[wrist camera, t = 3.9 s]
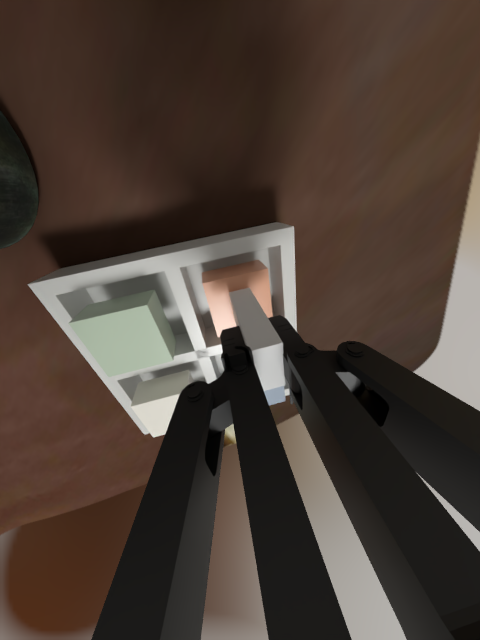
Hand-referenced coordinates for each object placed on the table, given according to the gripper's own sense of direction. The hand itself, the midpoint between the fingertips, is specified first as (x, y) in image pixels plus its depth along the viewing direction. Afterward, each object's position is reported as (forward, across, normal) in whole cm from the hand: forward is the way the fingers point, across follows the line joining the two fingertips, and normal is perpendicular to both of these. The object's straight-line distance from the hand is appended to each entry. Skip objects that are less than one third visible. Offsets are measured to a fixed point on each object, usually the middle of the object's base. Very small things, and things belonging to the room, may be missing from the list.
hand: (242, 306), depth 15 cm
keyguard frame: (+4, -4, -4) cm, 7 cm away
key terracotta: (+3, 0, 0) cm, 3 cm away
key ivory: (+2, -8, -8) cm, 12 cm away
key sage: (+2, -8, 0) cm, 8 cm away
